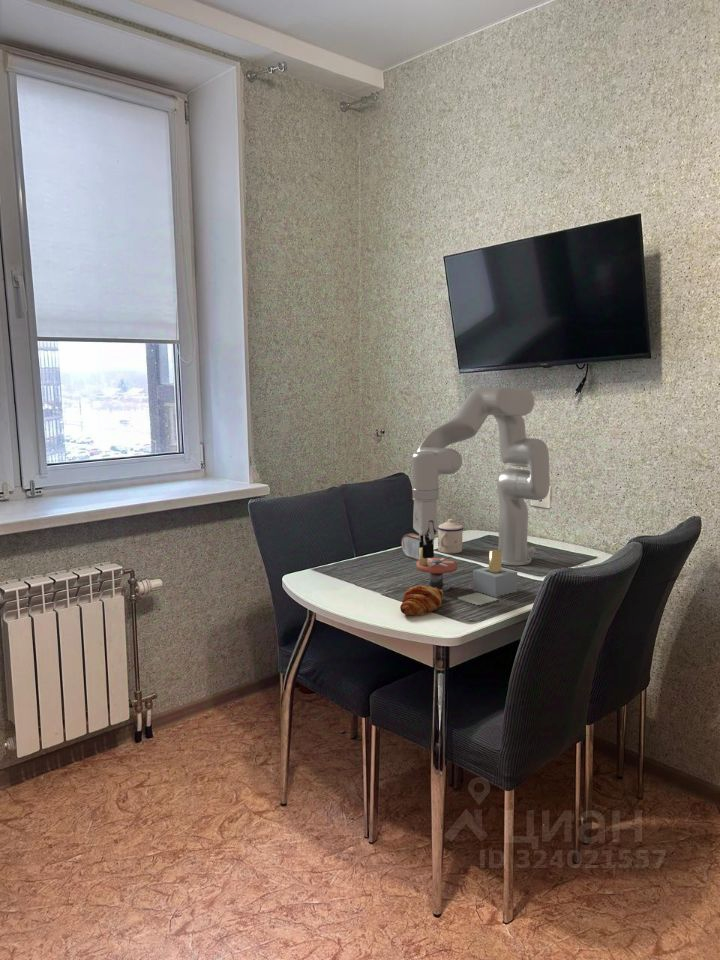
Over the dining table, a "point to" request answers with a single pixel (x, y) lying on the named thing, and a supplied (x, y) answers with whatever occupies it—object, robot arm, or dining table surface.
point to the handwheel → (435, 564)
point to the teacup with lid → (450, 537)
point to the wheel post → (437, 582)
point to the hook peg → (495, 561)
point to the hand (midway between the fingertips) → (426, 555)
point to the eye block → (494, 581)
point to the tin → (410, 545)
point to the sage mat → (477, 598)
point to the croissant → (421, 600)
